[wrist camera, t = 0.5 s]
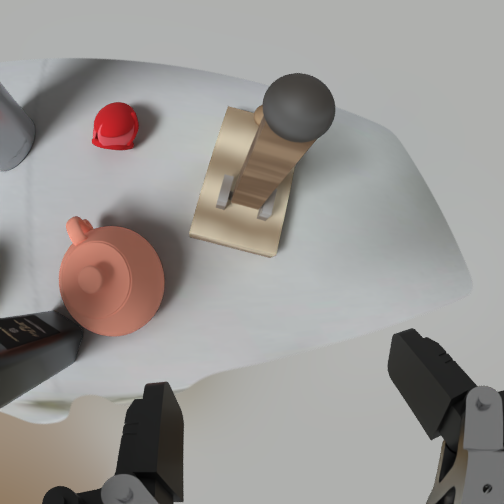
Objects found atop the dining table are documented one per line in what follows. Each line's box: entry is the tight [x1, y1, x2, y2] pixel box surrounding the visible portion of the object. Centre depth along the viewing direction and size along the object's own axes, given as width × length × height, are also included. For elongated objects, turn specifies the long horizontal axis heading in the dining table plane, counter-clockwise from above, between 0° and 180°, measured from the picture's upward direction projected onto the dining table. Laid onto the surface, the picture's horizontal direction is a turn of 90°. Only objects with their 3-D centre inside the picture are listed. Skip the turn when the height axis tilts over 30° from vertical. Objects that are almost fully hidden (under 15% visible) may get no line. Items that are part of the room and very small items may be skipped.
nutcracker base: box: [189, 105, 295, 258], centre depth 36 cm, size 18×10×6 cm, turn 167°
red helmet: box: [92, 102, 139, 150], centre depth 34 cm, size 8×6×6 cm
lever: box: [231, 73, 335, 210], centre depth 23 cm, size 4×4×20 cm
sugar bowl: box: [59, 216, 165, 336], centre depth 29 cm, size 12×14×10 cm
